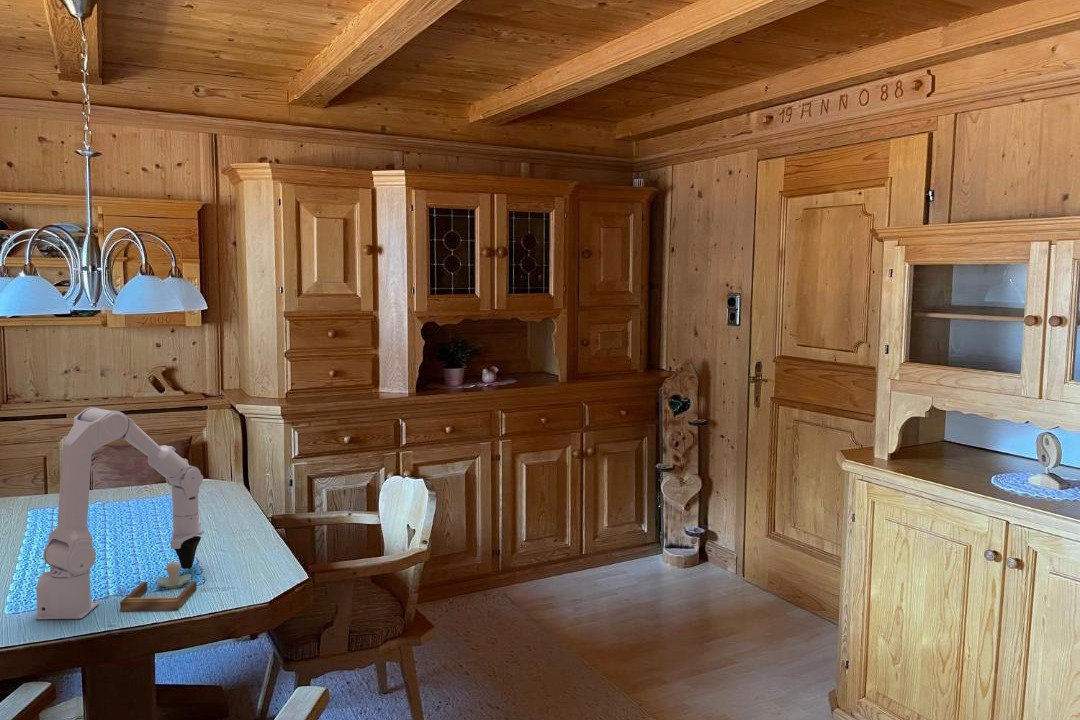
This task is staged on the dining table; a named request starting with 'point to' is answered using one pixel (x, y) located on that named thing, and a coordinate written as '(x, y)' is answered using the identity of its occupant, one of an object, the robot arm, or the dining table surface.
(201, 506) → the dining table surface
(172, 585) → the pacifier
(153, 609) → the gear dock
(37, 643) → the dining table surface
